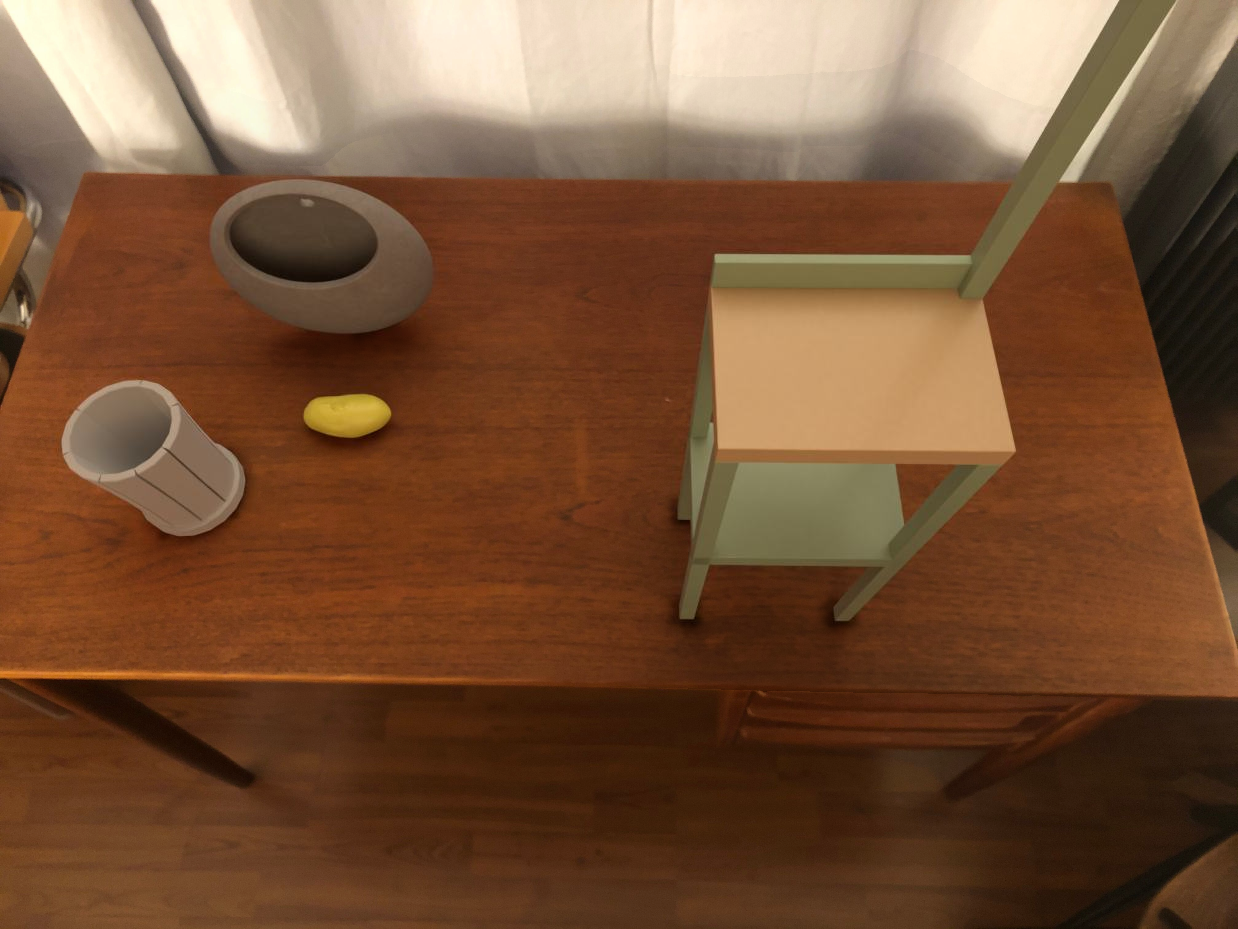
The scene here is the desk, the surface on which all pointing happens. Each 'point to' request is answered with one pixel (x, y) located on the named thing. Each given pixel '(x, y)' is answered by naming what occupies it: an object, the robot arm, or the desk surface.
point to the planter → (321, 256)
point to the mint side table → (866, 376)
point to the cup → (153, 457)
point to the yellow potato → (347, 415)
